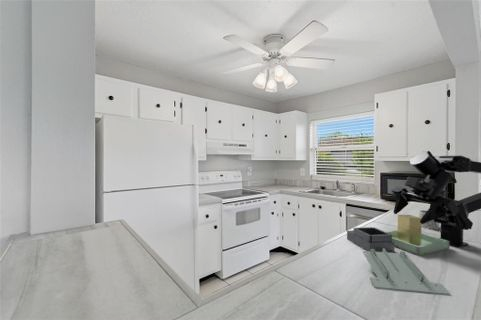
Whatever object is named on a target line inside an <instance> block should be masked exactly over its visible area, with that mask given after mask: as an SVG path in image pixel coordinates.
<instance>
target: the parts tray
mask: <svg viewBox="0 0 481 320" xmlns="http://www.w3.org/2000/svg"><path fill="white" fill-rule="evenodd" d="M384 232H387V233H389V234H391V235H392V241H393V242H394V248H397V249H400V250H401V251H404V252H405V251H406V252H408V253H410V254H413V255H416V256H420V257H421V256H424V255H427V254H428V255H429V254H433V253H437V252H441V251H446V250H449V249H450V246H451V245H450V241H447V240H443V239H440V237H437V236H436V237H435V236H432V235H429V234H427V233H426V234H425V233H422V232H421V245H413V244H410V243H407V242H404V241H401V240H398V229H394V230H386V231H384Z"/></svg>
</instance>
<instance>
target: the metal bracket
mask: <svg viewBox="0 0 481 320" xmlns="http://www.w3.org/2000/svg"><path fill="white" fill-rule="evenodd" d="M362 253H363V255H364V257H365V259H366V261H368V263H369V265H370V267H371V270H372V271H373V272H374V274H375V275H376V277H373V276H370V277H369V280H370V282H371V284H372V286H373V288H374V289H376V290H382V291H383V290H384V291H400V292H401V291H402V292H410V293H411V292H412V293H413V292H414V293H422V294H431V295H438V296H447V297H448V296H449V297H450V296H451V293H450V292H449V290H448V289H447V288H446V287H445V286H444V285H443V283H441V282H433V281H432V282H431V281H430V280H429V278H427V276H426V275H425V274H424V273H423V272H422V271H421V269H420V268H419V267H418V266H417V264H416V263H415V262H414V261H413V260H412V259H411V258H410V257H409V255H408V254H407V253H406V252H405V250H401V251H399V252H398V253H396V252H386V250H385V249H384V248H383V251H382V252H375V250H374V249H371V251H367V250H363V251H362Z"/></svg>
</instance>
